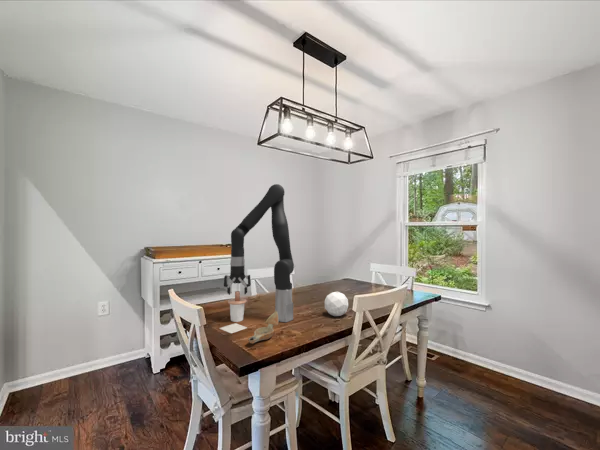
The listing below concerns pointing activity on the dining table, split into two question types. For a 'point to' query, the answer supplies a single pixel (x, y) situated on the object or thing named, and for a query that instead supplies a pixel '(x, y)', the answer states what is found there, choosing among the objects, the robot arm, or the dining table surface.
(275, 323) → the oil lamp
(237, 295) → the lid
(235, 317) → the white cup
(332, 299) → the geodesic sphere
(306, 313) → the dining table surface
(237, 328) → the mat
